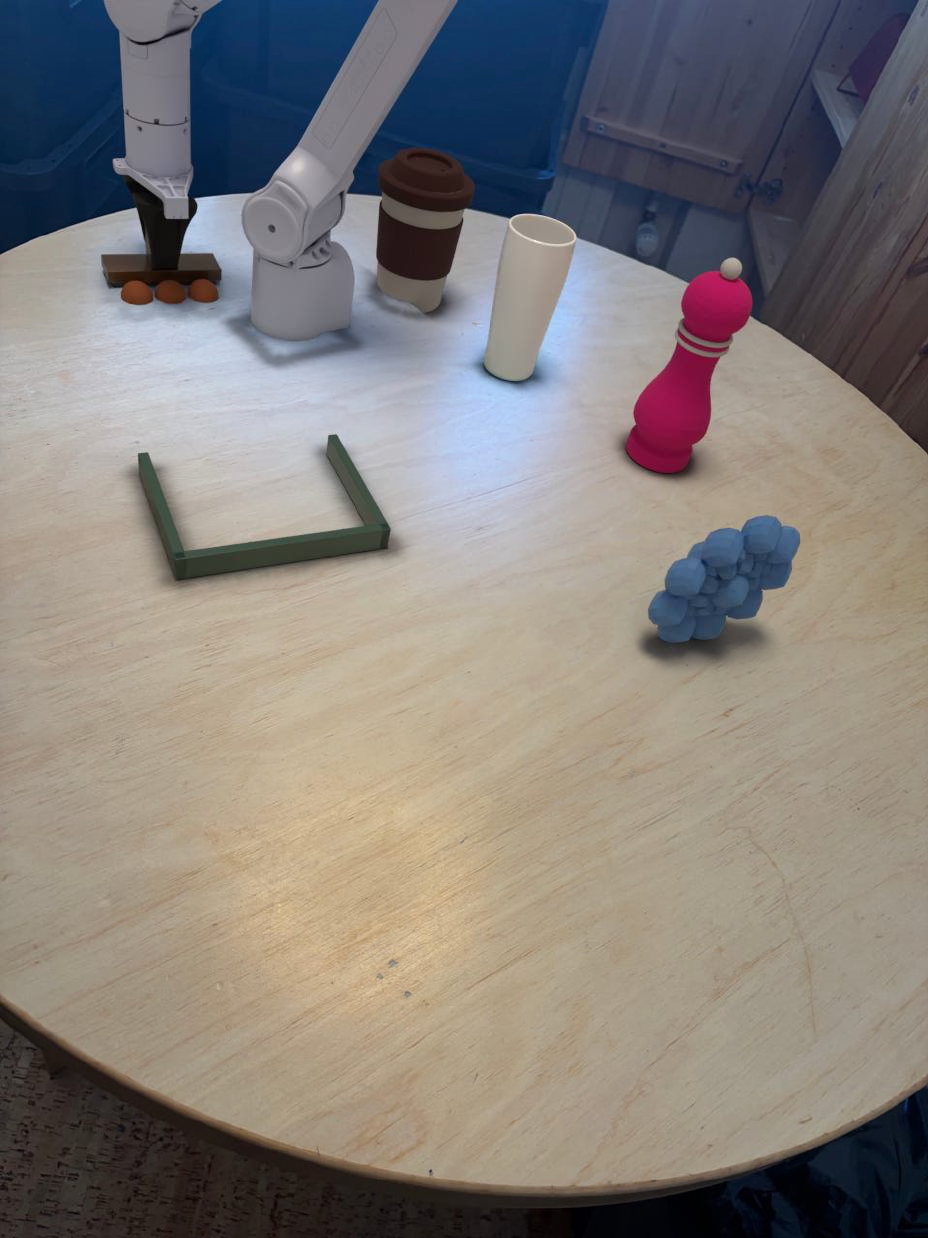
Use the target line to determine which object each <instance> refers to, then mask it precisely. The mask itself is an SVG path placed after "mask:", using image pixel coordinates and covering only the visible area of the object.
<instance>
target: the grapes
mask: <svg viewBox="0 0 928 1238" xmlns="http://www.w3.org/2000/svg"><path fill="white" fill-rule="evenodd" d="M800 544H801V534H800V531H798V529H797V528H796V527H793V526H789V525H783V524H782V522H781V521H780V520H779V519H778V517H777V516H773V515H768V514H766V515H757V516H755V517H751V518H749V519H747V520H746V521H745V523H744V524H743V526H742V528H741V530H740V529H737V528H733V527H725V528H717V529H716V530H712V531H711V532H709V533H708V534H707V536H706V537H705V539H704V541H700V542H697V543H695V544H693V545H692V547H690V549H689V551H688V552H687V555H686V557H685V558H681V559H680V558H679V559H678V560H675V561H673V562H672V563H671V565H670V567H669V568H668V570H667V572H666V574H665V577H664V589H663V590H660V591H657V592H656V593H655V594H654V596H653V597H652V599H651V600H650V602H649V606H648V608H647V617H648V620H649V621H650V622H651V623H652V624H653V625H656V629H657V630H656V631H657V636H658V637H659V638H660V639H661V640H662V641H663V642H667V643H671V644H675V643H685V642H688V641H689V640H690V639H691V638H692V639H696V640H700V641H702V640H704V641H705V640H713V639H717V638H719V637H720V635H721V633H722V631H723V630H724V627H725V625H726V621H727V618H730V619H733V620H744V619H745V620H746V619H752V618H755V617H756V616H757V614H758V612H759V611H760V609H761V607H762V603H763V601H764V591H769V590H770V591H771V590H778V589H781V588H785V586H786V584H787V583H788V581H789V579H790V577H791V573H792V570H793V560H794V558H795V557H796V554H797V553H798V551H799V547H800Z"/></svg>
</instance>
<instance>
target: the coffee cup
mask: <svg viewBox="0 0 928 1238" xmlns="http://www.w3.org/2000/svg"><path fill="white" fill-rule="evenodd" d="M377 172H378V173H377V186H378V188H379V190H380V191H381V200H380V202H379V203H378V204H379V205H378V218H377V235H376V251H375V253H376V254H375V257H376V260H377V265H376V267H377V268H376V280H375V282H376V286H377V287H378V289H379V290H380V291H381V292H382V293H384V295H386V296H389V297H390V298H392V299H394V300H397V301H401V302H405V303H409V304H411V305H413V307H415V308H416V309H418V310H419V311H420V312H421V313H422V314H426V313H430V312H432V311H434V310H436V309H437V308H438V307H439V306H440V304H441V301H442V296H443V294H444V289H445V285H446V282H447V278H448V275H449V274H450V273H451V271H452V266H453V263H454V259H455V255H456V252H457V248H458V244H459V240H460V236H461V234H462V233H461V232H462V230H463V229H462V228H463V226H464V212H465V210H466V209H467V208H469V207H470V206H471V205H472V203H473V199H474V195H475V189H476V186H475V183H474V181H473V180H472V178H471V177H469V176H468V175H467V174H465V173H464V168H463V165H462V163H460V161H459V160H457V159H456V158H454V157H453V156H451V155H449V154H446V153H445V152H441V151H438V150H435V149H429V148H422V147H410V148H409V147H408V148H403V149H400V150H399V151H398V152H397V153H396V155H395V157H393V158H390V159H386V160H385V161H383V162H382V163H381V164H380V165H379V167H378V171H377Z"/></svg>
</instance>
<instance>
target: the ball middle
mask: <svg viewBox="0 0 928 1238" xmlns="http://www.w3.org/2000/svg"><path fill="white" fill-rule="evenodd" d="M154 298H155V299H156V300H157V301H159V302H161V303H163V304H168V305H178V304H182V303H184V302H186V300H187V298H188V297H187V292H186V290H185V288H184V285H181V284H180V283H178V282H176V281H174V280H165V281H162V282H161V283H159V284H158V286H155V290H154Z"/></svg>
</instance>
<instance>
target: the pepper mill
mask: <svg viewBox="0 0 928 1238" xmlns="http://www.w3.org/2000/svg"><path fill="white" fill-rule="evenodd" d="M742 271H743V265H742V262H741V261H740V260H739V259H738V258H736V257H728V258H727V259H725V260H724V261H723V262H722V263H721V265H720V269H719V270H710V271H707V272H706V271H705V272H703V273H701V274H699V275H697V276H696V277H694V278H693V279H692V280H691V281H690V283H689V284H688V285H687V286H686V288H685V289H684V292H683V294H682V297H681V302H680V307H681V312H682V314H683V317H682V318H681V319H680V320H679V321H678V324H677V326H678V327H677V328H676V329H675V332H674V339H675V340H676V344H675V349H674V350H673V353H672V355H671V357H670V359H669V361H668V363H667V364H666V365H665V367H664V368H663V369H662V370H661V371H660V373H658V374H657V375H656V376H655V378H653V379H652V380H651V381H650V382H649V383H648V384H647V385H646V386H645V388H644V389H643V390H642V391H641V393H640V394H639V396H638V398H637V400H636V402H635V404H634V406H633V412H632V415H633V419H634V422H635V424H634V425H633V426H632V428H631V429H630V432H629V435H628V437H627V439H626V443H625V448H626V451H627V454H628V456H629V457H630V458H631V459H632V460H633V461H634V462H635V463H636V464H638V465H640V466H642V467H643V468H645V469H648V470H650V471H653V472H656V473H660V474H661V473H662V474H674V473H678V472H681V471H682V470H683V469H685V468H686V467H687V465H688V463H689V460H690V458H691V456H692V454H693V451H694V449H693V446H694V445H695V444H698V443H699V442H700V441H702V439H704V437H705V436H706V434H707V433H708V430H709V426H710V422H711V420H712V419H711V418H712V397H711V383H712V377H713V374H714V371H715V369H716V366H717V364H718V362H719V360H720V359H721V357H724V356H725V355H727V354H728V353H729V351H730V346H731V345H732V344H733V341H734V336H733V335H734V334H736V333H737V332H739V331H740V330H741V329H743V328H744V327H745V326H746V325H747V324H748V321H749V319H750V316H751V314H752V310H753V296H752V293H751V290H750V288H749V287H748V285H747V284H746V282H744V280H742V279H741V278H740V275H741V274H742Z"/></svg>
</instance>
